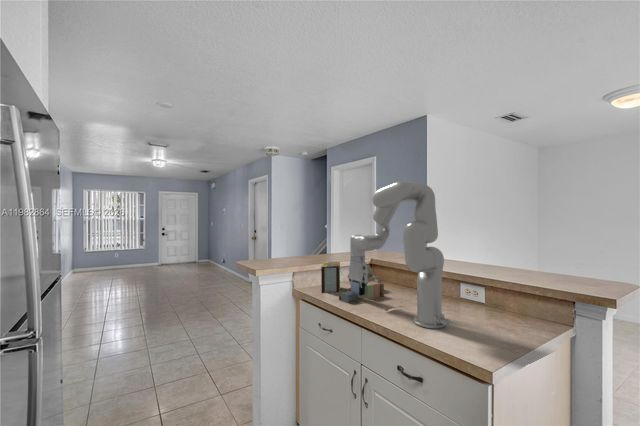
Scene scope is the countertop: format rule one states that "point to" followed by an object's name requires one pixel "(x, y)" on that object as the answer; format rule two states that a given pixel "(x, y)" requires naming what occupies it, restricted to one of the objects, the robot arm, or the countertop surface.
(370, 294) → the book
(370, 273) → the ceramic cottage
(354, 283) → the book
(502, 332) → the countertop surface
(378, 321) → the countertop surface
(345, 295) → the dark grey block
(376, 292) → the book
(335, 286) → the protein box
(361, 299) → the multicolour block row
